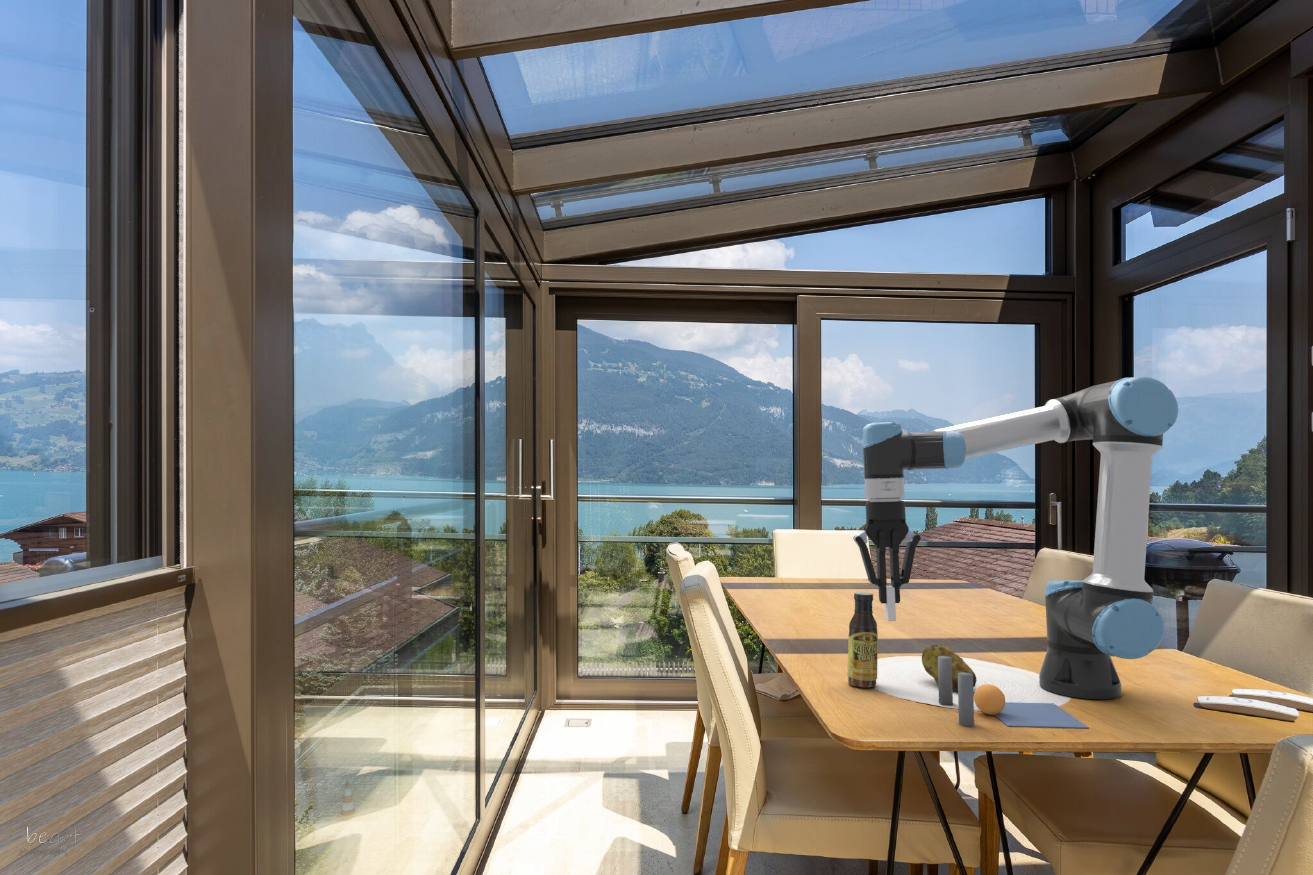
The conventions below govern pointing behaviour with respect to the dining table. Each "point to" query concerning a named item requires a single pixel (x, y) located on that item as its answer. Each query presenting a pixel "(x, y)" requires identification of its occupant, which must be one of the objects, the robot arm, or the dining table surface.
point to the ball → (989, 699)
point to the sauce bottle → (862, 643)
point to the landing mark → (1037, 716)
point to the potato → (958, 664)
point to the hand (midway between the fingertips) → (890, 619)
